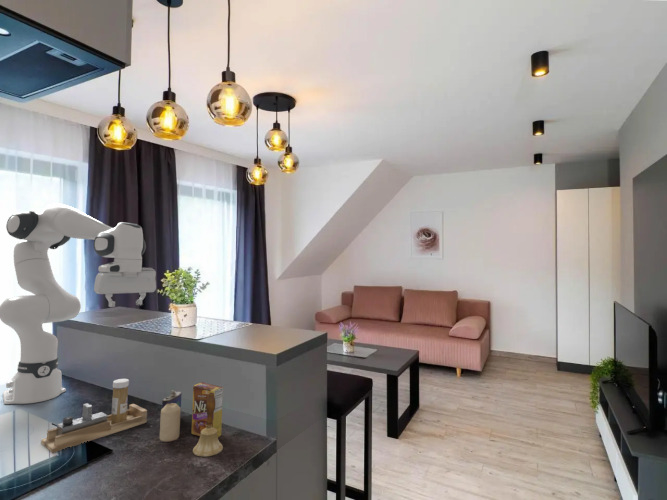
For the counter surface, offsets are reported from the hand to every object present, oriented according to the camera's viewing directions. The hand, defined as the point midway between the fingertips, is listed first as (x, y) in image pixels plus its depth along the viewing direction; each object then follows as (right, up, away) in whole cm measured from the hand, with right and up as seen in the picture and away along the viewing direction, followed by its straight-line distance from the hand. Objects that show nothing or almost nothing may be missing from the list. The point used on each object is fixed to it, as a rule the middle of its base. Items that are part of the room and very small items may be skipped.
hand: (125, 305), depth 133 cm
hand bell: (+39, -38, -27) cm, 60 cm away
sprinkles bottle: (+5, -36, -13) cm, 39 cm away
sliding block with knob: (-1, -35, -22) cm, 41 cm away
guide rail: (+1, -36, -18) cm, 41 cm away
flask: (+21, -38, -10) cm, 44 cm away
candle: (+25, -37, -20) cm, 49 cm away
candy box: (+35, -38, -18) cm, 55 cm away
